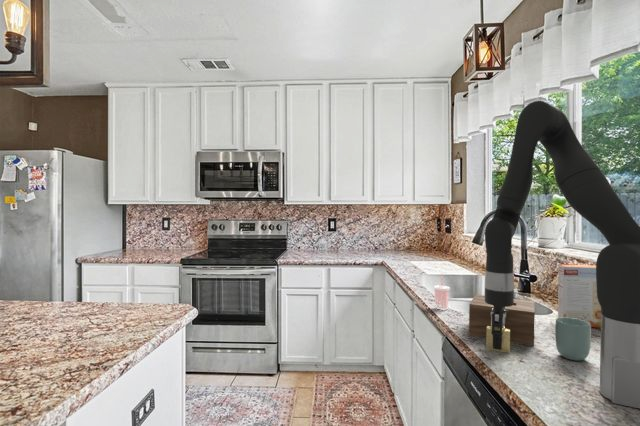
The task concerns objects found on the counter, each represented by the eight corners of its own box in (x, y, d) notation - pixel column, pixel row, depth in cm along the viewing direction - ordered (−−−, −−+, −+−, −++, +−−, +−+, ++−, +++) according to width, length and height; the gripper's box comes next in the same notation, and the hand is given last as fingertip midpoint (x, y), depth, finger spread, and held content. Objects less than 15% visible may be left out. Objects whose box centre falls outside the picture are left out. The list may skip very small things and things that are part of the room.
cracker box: (601, 324, 131) (602, 265, 130) (610, 329, 125) (611, 267, 125) (556, 320, 134) (557, 263, 134) (563, 325, 128) (564, 265, 128)
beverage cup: (441, 312, 144) (442, 276, 144) (430, 308, 149) (430, 273, 149) (452, 310, 147) (453, 275, 147) (441, 306, 152) (441, 272, 152)
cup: (574, 365, 96) (575, 326, 95) (548, 353, 103) (549, 318, 103) (597, 362, 98) (598, 324, 98) (570, 351, 105) (570, 316, 105)
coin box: (534, 346, 109) (534, 312, 109) (468, 335, 118) (469, 303, 118) (533, 331, 122) (534, 301, 122) (475, 322, 131) (475, 294, 131)
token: (509, 353, 103) (509, 332, 103) (486, 349, 106) (486, 328, 106) (510, 350, 105) (510, 329, 105) (487, 346, 108) (487, 325, 108)
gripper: (512, 293, 98) (511, 355, 98) (514, 284, 110) (513, 339, 110) (482, 290, 101) (481, 350, 101) (487, 281, 114) (486, 334, 114)
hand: (498, 344), depth 106 cm, fingers open, 7 cm apart
